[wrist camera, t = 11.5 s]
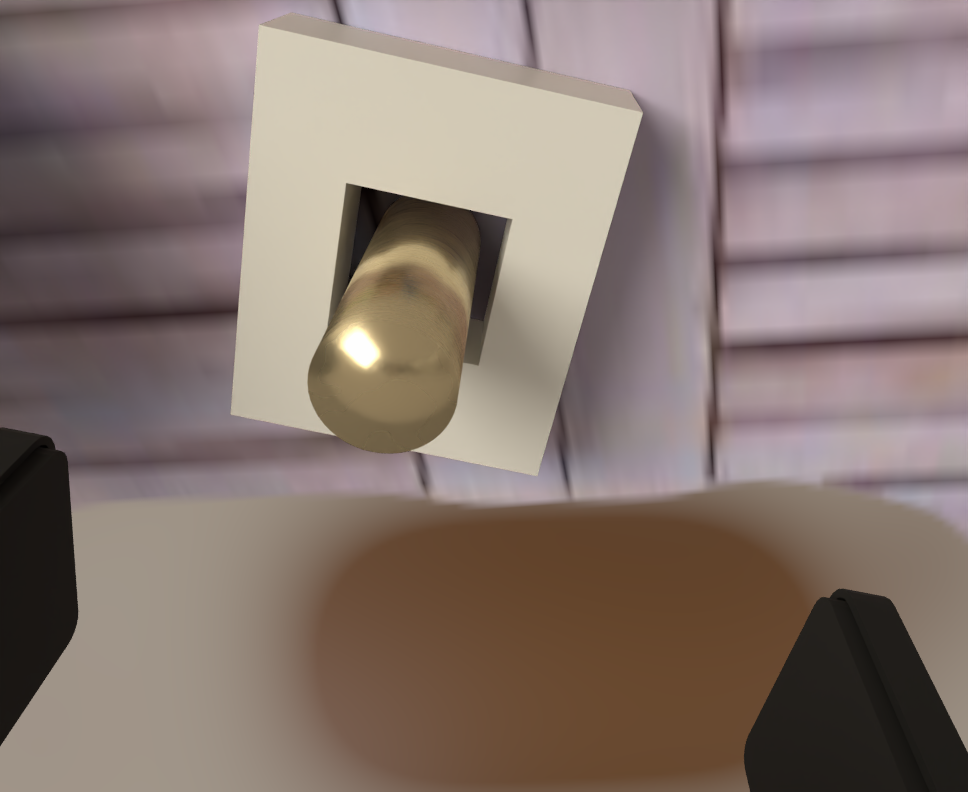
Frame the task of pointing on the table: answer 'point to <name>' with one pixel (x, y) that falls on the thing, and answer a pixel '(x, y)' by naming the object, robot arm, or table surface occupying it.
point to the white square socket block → (433, 177)
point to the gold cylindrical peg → (400, 331)
